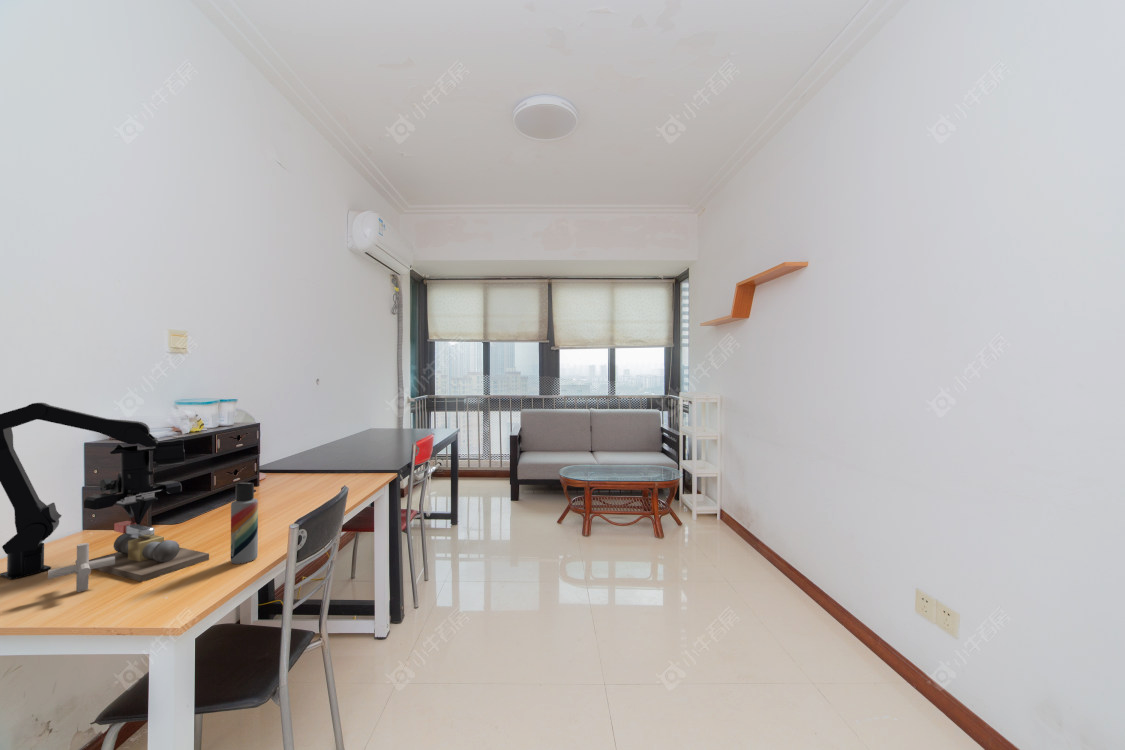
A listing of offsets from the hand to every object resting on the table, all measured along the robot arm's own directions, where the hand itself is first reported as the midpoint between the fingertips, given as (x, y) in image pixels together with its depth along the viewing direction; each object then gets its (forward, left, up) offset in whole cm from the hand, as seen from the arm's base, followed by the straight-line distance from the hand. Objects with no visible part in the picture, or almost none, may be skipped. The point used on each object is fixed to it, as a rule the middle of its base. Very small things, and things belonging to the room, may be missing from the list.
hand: (136, 526), depth 120 cm
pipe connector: (+16, -17, -7) cm, 25 cm away
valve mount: (+11, -3, -7) cm, 13 cm away
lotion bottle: (+33, +7, -7) cm, 34 cm away
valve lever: (+5, -3, -1) cm, 6 cm away
